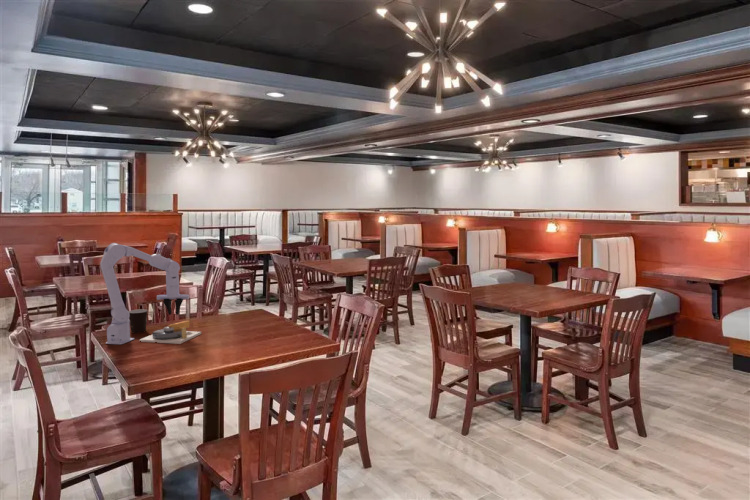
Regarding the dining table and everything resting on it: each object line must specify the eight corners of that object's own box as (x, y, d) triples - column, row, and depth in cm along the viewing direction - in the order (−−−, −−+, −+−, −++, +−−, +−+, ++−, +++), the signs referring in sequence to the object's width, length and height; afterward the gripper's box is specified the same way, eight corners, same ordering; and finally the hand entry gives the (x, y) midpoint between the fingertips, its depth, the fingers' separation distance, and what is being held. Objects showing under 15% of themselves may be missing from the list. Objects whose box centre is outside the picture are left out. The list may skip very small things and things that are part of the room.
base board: (180, 343, 234) (179, 331, 234) (139, 341, 238) (139, 329, 237) (201, 333, 252) (200, 322, 251) (163, 331, 256) (162, 320, 255)
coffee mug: (143, 333, 252) (142, 313, 251) (125, 333, 252) (124, 313, 251) (154, 327, 264) (153, 308, 263) (136, 327, 264) (136, 308, 263)
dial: (165, 340, 234) (165, 330, 234) (145, 336, 241) (145, 326, 241) (198, 331, 249) (198, 322, 249) (178, 328, 257) (178, 319, 256)
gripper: (190, 284, 254) (191, 312, 255) (159, 284, 253) (161, 312, 255) (186, 286, 247) (187, 315, 248) (154, 287, 246) (155, 315, 247)
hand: (173, 314), depth 251 cm, fingers open, 3 cm apart
